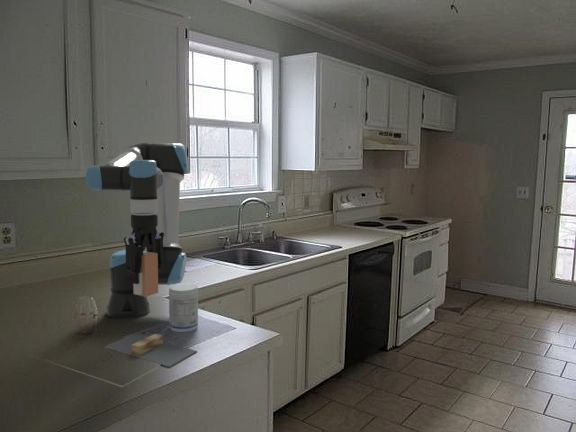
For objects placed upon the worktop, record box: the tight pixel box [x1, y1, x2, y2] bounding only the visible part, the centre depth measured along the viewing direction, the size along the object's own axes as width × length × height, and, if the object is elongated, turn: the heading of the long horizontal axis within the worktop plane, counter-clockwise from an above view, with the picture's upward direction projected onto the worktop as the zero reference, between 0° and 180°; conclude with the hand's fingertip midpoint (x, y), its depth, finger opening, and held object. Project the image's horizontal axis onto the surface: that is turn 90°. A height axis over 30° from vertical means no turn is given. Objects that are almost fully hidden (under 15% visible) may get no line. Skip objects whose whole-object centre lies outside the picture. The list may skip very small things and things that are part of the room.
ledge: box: [131, 333, 164, 355], centre depth 145 cm, size 10×3×3 cm, turn 152°
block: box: [133, 250, 159, 298], centre depth 142 cm, size 5×5×12 cm
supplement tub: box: [168, 282, 199, 333], centre depth 162 cm, size 10×10×15 cm
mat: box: [104, 333, 198, 369], centre depth 145 cm, size 12×26×1 cm, turn 62°
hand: (145, 291), depth 142 cm, fingers closed on block, 5 cm apart
